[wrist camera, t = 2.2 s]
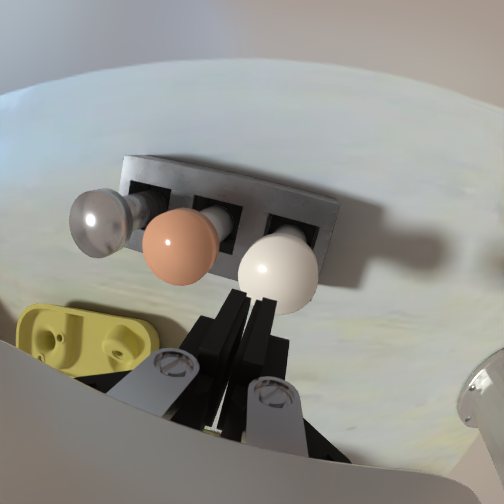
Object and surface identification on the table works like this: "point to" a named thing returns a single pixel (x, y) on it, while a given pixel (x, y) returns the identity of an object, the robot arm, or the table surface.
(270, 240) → the ivory plunger
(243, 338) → the robot arm
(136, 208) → the grey plunger
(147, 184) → the grey socket block
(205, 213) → the terracotta plunger
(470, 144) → the table surface
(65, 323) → the plastic component
